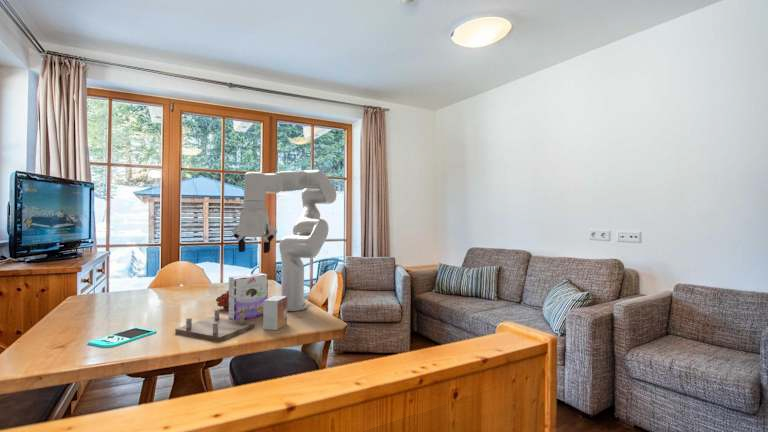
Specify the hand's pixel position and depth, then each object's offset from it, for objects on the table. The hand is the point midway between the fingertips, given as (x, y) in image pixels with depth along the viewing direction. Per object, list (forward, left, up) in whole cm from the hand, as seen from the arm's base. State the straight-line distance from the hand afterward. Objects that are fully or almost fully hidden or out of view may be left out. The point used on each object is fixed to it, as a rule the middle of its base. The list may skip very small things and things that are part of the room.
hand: (254, 252), depth 136 cm
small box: (-1, +9, -27) cm, 29 cm away
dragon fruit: (-12, -24, -27) cm, 38 cm away
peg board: (+11, -7, -27) cm, 30 cm away
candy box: (-7, -9, -27) cm, 29 cm away
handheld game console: (+29, -28, -28) cm, 49 cm away
